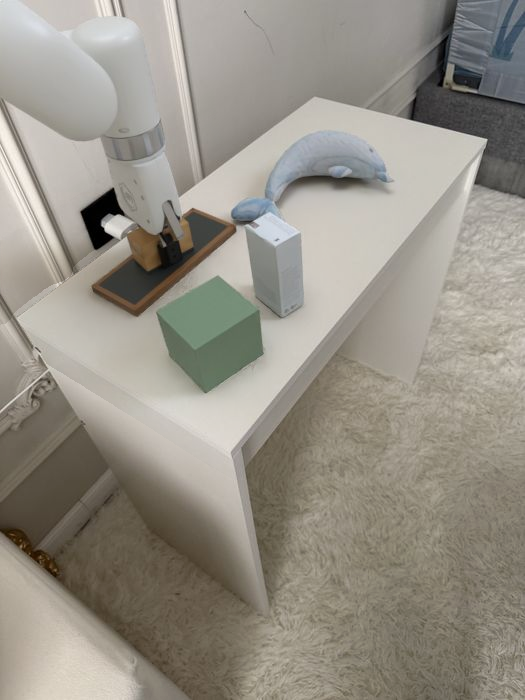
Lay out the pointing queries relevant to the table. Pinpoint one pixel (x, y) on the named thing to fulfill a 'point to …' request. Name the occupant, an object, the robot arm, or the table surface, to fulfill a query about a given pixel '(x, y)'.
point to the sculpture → (315, 168)
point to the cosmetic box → (276, 263)
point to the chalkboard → (142, 289)
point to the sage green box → (211, 332)
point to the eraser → (154, 246)
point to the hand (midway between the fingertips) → (163, 254)
